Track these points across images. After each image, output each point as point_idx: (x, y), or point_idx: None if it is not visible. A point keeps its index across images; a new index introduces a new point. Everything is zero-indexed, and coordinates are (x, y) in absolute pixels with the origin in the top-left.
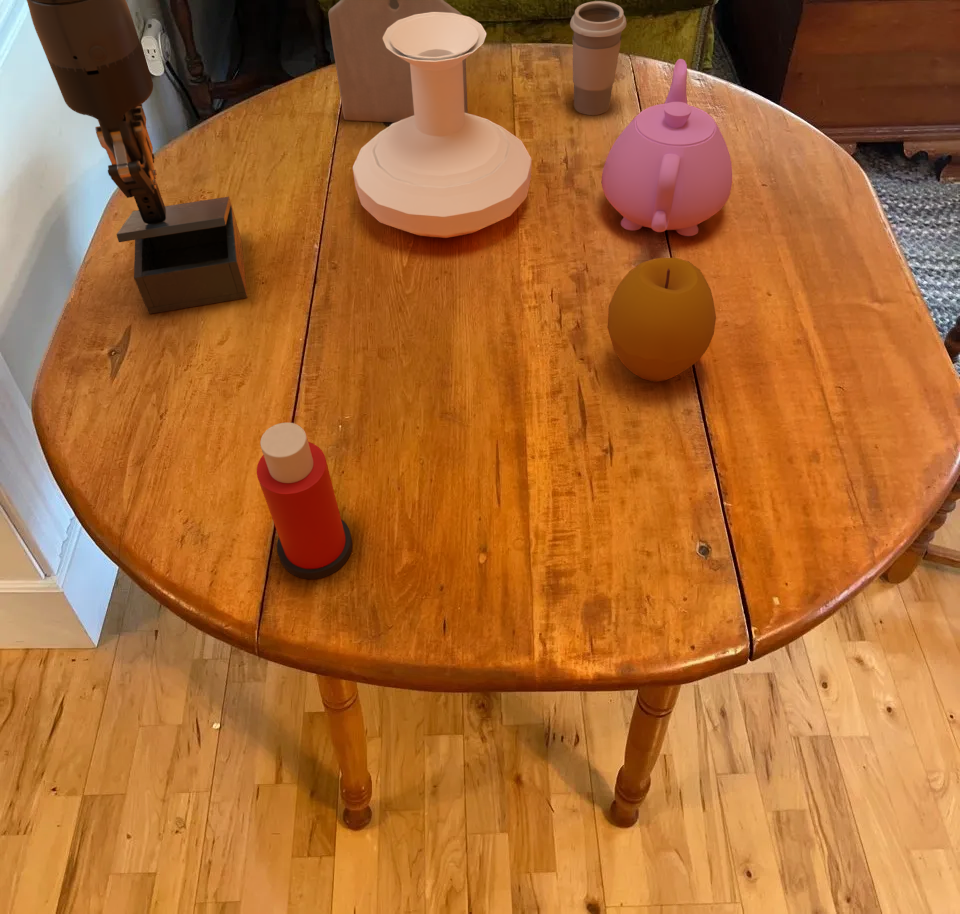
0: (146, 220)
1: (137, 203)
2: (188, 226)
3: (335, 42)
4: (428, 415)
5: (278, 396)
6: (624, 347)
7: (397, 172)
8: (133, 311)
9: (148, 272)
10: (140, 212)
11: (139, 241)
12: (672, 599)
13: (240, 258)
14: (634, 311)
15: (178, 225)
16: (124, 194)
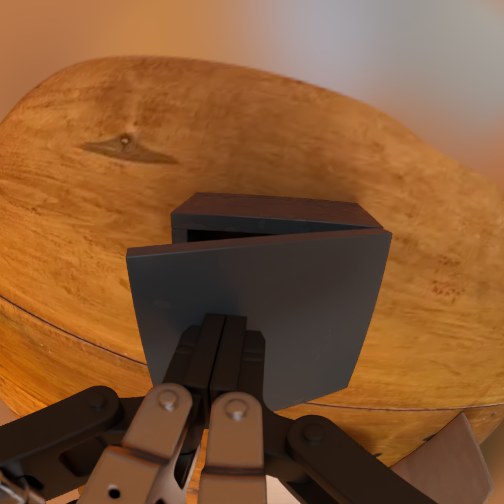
0: (188, 328)
1: (194, 353)
2: None
3: (482, 471)
4: (61, 388)
5: (59, 316)
6: None
7: (269, 498)
8: (211, 166)
9: (181, 241)
10: (199, 332)
11: (296, 229)
12: (8, 400)
13: None
14: (82, 489)
15: (152, 380)
16: (65, 399)
